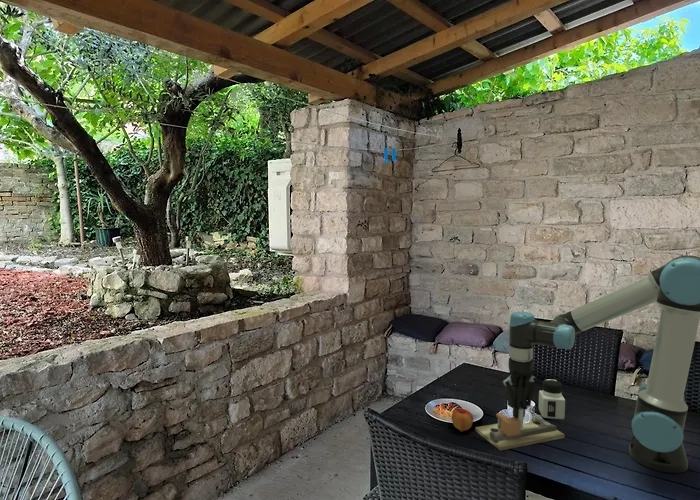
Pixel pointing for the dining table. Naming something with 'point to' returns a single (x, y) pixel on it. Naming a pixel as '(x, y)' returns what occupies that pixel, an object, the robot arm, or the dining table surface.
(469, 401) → the dining table surface
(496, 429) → the board
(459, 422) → the apple
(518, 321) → the robot arm
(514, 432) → the block
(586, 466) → the dining table surface
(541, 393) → the container
